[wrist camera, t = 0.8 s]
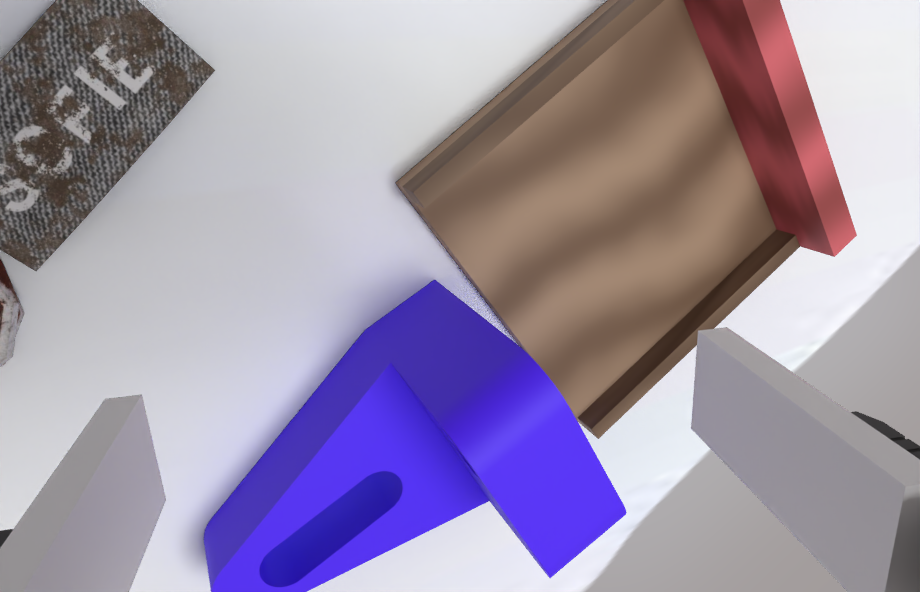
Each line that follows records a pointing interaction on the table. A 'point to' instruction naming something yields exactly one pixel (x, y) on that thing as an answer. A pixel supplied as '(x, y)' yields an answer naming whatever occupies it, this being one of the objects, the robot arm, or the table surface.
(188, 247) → the table surface
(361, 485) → the bracket
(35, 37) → the keychain
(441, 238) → the walnut stop track
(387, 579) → the table surface
